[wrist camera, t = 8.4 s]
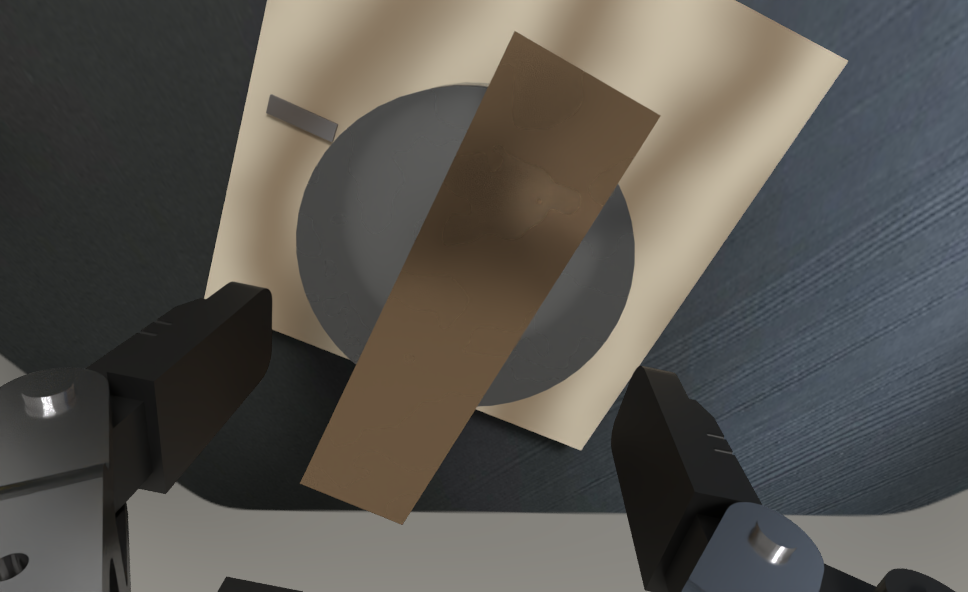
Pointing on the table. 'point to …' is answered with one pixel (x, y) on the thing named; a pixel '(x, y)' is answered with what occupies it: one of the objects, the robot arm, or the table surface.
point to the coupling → (464, 260)
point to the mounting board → (474, 58)
